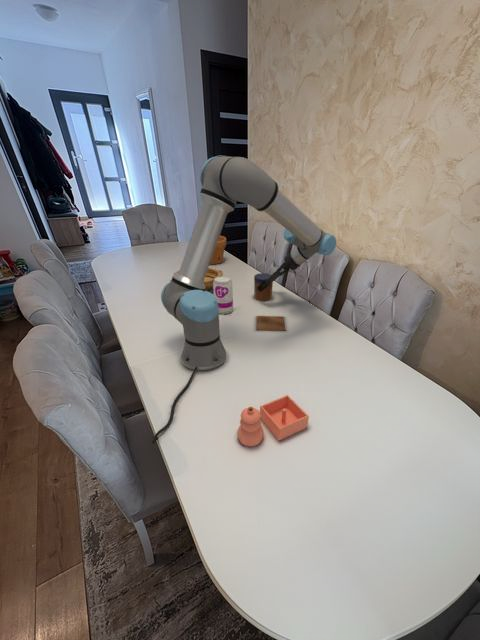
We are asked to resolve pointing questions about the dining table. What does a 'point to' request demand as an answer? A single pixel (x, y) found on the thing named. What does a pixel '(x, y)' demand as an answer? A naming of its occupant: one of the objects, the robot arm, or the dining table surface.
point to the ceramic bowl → (209, 277)
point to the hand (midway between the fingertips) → (263, 285)
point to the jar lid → (261, 277)
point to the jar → (263, 292)
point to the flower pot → (218, 251)
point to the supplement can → (223, 294)
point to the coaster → (270, 323)
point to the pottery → (271, 421)
